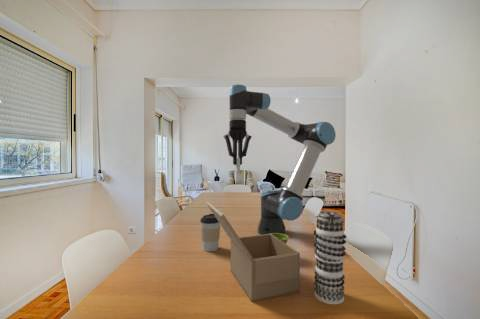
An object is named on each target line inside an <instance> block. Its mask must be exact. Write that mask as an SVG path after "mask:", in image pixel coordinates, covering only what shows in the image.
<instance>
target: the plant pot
mask: <svg viewBox="0 0 480 319" xmlns="http://www.w3.org/2000/svg"><path fill="white" fill-rule="evenodd" d="M270 234H272V235H273V236H275V237H276V238H278V239H279V240H281V241H282V242H284V243H285V244H287V242H288V240H289V238H290V237H289V235H287V234H286V233H285V234H281V233H270ZM287 245H288V244H287Z"/></svg>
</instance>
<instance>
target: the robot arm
mask: <svg viewBox="0 0 480 319" xmlns="http://www.w3.org/2000/svg"><path fill="white" fill-rule="evenodd" d="M228 97H229V121H228V122H229V124H228V125H229V130H228V133H226V134H225V135H223V138H224V140H225V144H226V147H227V153H228V155H229V156H230V157H232V164H233V165H234V172H235V173H241V165H242V164H243V158H244V157H246V156H247V153H248V149H249V143H250V141H251V139H252V135H249V134H248V131H247V120H246V119H247V116H250V117H253V118H254V119H256V120H258V121H260V122H261V123H264V124H266V125H268V126H270V127H272V128H274V129H276V130H277V131H279V132H282V133H283V134H286V135H287V136H288V138H289V139H292V140H294V141H296V142H297V143H300V144H302V145H304V147H303V149H302V152H301V153H300V155H299V157H298V160H297V162H296V164H295V165H294V169H292V170H293V171H292V173H291V175H290V176H289V179H288V180H287V183H286V184H285V186H284V187H281V189H271V190H268V189H267V190H262V191H261V192H260V193H261V194H260V219H259V223H258V225H257V233H258V235H264V234H270V233H281V234H286V232H287V231H286V226H285V222H284V221H295V220H297V219H299V218H300V216H301V215H302V214H303V211H304V204H303V200H304V197H303V192H304V190H305V188H306V186H307V183H308V181H309V179H310V177H311V175H312V172H313V170H314V168H315V166H316V164H317V161H318V158H319V157H320V155H321V153H323V152H325V151H326V148H327V147H328V146H329V145H332V144H333V143H334V142H335V139H336V130H335V128H334V127H335V126H334V125H332V124H331V123H330V122H328V121H319V122H315V123H308V124H304V123H303V124H302V123H300V122H297V121H295V122H294V121H292V120H291V119H288V118H287V117H284V116H283V115H281V114H279V113H277V112H275V111H273V110H271V109H270V107H271V106H270V105H271V96H270V94H269V93H266V92H256V91H249V90H248V89H247V86H246V85H243V84H233V85H231V86H230V88H229V96H228ZM230 138H231V140H232V144H231V140H230ZM244 139H245V140H244ZM243 142H244V144H243Z"/></svg>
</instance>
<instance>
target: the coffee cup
mask: <svg viewBox="0 0 480 319" xmlns="http://www.w3.org/2000/svg"><path fill="white" fill-rule="evenodd" d="M200 232H201V242H202V243H201V244H202V250H203V251H204V252H215V251H218V250H219V243H220V242H219V241H220V232H221V225H220V223H219V222H218V220H217V219H216V217H215V216H214V214H213V213H209V214H205V215H202V217H201V218H200Z"/></svg>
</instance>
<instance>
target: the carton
mask: <svg viewBox="0 0 480 319" xmlns="http://www.w3.org/2000/svg"><path fill="white" fill-rule="evenodd" d="M238 237H239V238H240V240H241V241H242V243H243V244H244V246H245V247H246V249H247V250H248V252H249V253H250V255H251V256H252V259H249V258H248V257H247V256H246V255H245V254H244V253H243V252H242V251H241V250H240V249H239V247H238V246H237V245H236V244H235V243H234V242H233V241H232V240H231V239H230V272H231V274H232V275H233V277H234V279H235V280H236V281H237V283H238V284H239V286H240V287H241V289H242V290H243V292H244V293H245V294H246V296H247V297H248V299H249V300H250V302H257V301H261V300H262V301H263V300H265V299H271V298H276V297H282V296H285V295H290V294H291V295H292V294H296V293H300V290H301V289H300V284H301V283H300V282H301V279H300V276H301V274H300V271H301V263H300V262H301V253H300V252H299V251H297V250H295V248H293V247H291V246H290V245H289V244H285V243H284V242H282V241H281V240H279V239H278V238H276V237H275V236H273V235H272V234H264V235H262V234H256V235H255V234H254V235H248V236H247V235H245V236H238Z"/></svg>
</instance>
